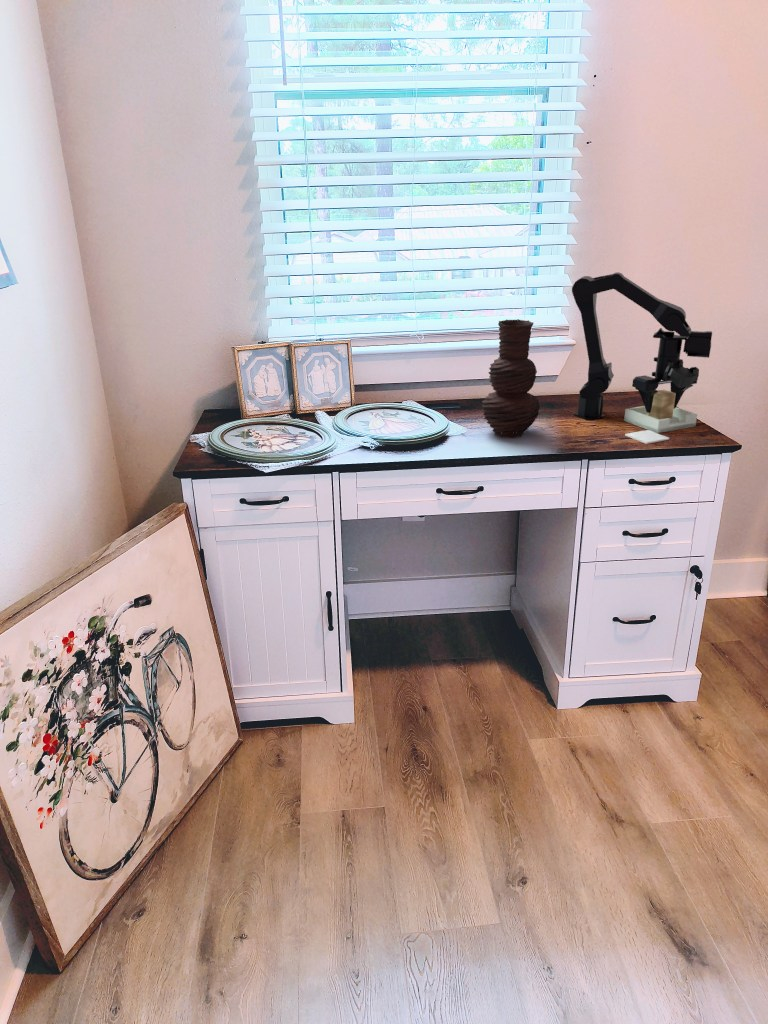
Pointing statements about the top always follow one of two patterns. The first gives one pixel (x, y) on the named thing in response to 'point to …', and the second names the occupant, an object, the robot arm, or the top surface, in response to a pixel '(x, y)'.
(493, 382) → the vase
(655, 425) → the pale green shallow tray
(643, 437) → the pad
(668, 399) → the oak block
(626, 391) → the top surface
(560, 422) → the top surface
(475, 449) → the top surface
